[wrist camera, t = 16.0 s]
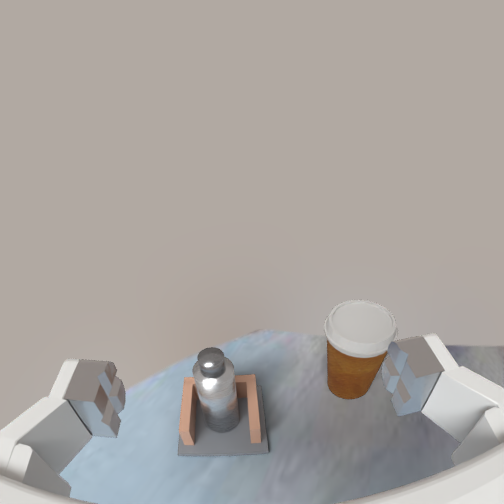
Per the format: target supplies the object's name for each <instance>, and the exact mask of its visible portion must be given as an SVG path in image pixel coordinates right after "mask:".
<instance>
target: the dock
mask: <svg viewBox="0 0 504 504" xmlns="http://www.w3.org/2000/svg"><path fill="white" fill-rule="evenodd" d="M235 384H236V392H237V400H238V408H239V416H240V421H239V424H238V426H237V427H236V428H235V429H233V430H232V431H229V432H225V433H218V432H215V431H212V430H211V429H210V428H209V427H208V426H207V425H206V422H205V418H204V415H203V411H202V407H201V403H200V400H199V396H198V392H197V388H196V384H195V380H194V377H184V386H183V395H182V405H181V414H180V425H179V444H178V456H234V455H252V454H265V453H269V451H268V442H267V434H266V425H265V416H264V407H263V398H262V389H261V386H256V380H255V374H252V375H237V376H235Z"/></svg>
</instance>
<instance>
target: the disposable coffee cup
mask: <svg viewBox="0 0 504 504" xmlns="http://www.w3.org/2000/svg"><path fill="white" fill-rule="evenodd" d="M324 331H325V335H326V337H327V353H328V354H327V356H328V357H327V359H328V360H327V362H328V364H327V365H328V381H327V382H328V387H329V389H330V390H331V392H332V393H333V394H335V395H336V396H338V397H340V398H344V399H355V398H359V397H361V396H363V395H364V394H365V393H366V392H367V391H368V389H369V387H370V385H371V383H372V381H373V380H374V378H375V376H376V374H377V372H378V370H379V368H380V366H381V364H382V362H383V360H384V358H385V356H386V354H387V350H388V346H389V344H390V343H391V342H392V341H396V339H397V335H398V331H397V327H396V320H395V318H394V316H393V314H392V313H391V312H390V311H389V310H388V309H386V308H385V307H383V306H382V305H380V304H377V303H375V302H371V301H366V300H352V301H346V302H343V303H340V304H338V305H337V306H336V307H334V308H333V309H332V311H331V312H330V314H329V315H328V316H327V318H326V320H325V323H324Z"/></svg>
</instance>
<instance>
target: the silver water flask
mask: <svg viewBox="0 0 504 504" xmlns="http://www.w3.org/2000/svg"><path fill="white" fill-rule="evenodd" d="M193 376H194V380H195V384H196V388H197V392H198V396H199V400H200V403H201V407H202V411H203V415H204V418H205V422H206V425H207V426H208V427H209V428H210V429H211V430H212V431H215V432H218V433H225V432H229V431H232V430H233V429H235V428H236V427H237V426H238V424H239V421H240V416H239V408H238V400H237V392H236V384H235V375H234V367H233V364H232V362H231V361H230V360H229V359H228V358H226V357H224V353H223V352H222V351H221V350H220V349H218V348H206V349H204V350H202V351H201V352H200V353H199V354H198V361H197V362H196V363H195V365H194V366H193Z"/></svg>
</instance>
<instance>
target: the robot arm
mask: <svg viewBox="0 0 504 504" xmlns="http://www.w3.org/2000/svg"><path fill="white" fill-rule="evenodd" d="M387 352H388V354H389V357H388V358H387V359H386V360H385V361H384V363H383V366H382V380H383V384H384V386H385V388H386V390H387V391H389V392H390V393H392V394H393V395H392V398H391V402H392V404H393V407H394V409H395V411H396V413H397V416H403V415H407V414H411V413H415V412H419V411H422V413H423V414H424V415H426V416H427V417H428V418H429V419H431V420H432V421H433V422H434V423H436V424H437V425H438V426H440V427H441V428H442V429H443V430H445V431H446V432H447V433H448V434H450V435H451V436H452V437H453V438H455V439H456V440H457V441H459V442H460V443H461V444H460V445H459V446H458V447H457V449H456V450H455V451H454V452H453V454H452V456H451V458H452V461H453V463H454V465H455V466H454V467H452V468H449V469H447V470H445V471H442V472H440V473H437V474H435V475H432V476H429V477H427V478H424V479H421V480H418V481H416V482H413V483H410V484H407V485H404V486H401V487H397V488H394V489H391V490H387V491H384V492H381V493H377V494H373V495H369V496H366V497H362V498H357V499H353V500H349V501H344V502H339V503H334V504H504V388H503V387H501V386H499V385H497V384H495V383H493V382H492V381H490V380H488V379H486V378H484V377H482V376H480V375H478V374H477V373H475V372H473V371H471V370H469V369H467V368H465V367H464V366H461V367H459V366H458V365H457V363H456V362H455V360H454V359H453V357H452V356H451V354H450V353H449V351H448V350H447V349H446V347H445V346H444V344H443V343H442V341H441V340H440V338H439V337H438V336H437V335H436V334H435V333H431V334H426V335H421V336H416V337H411V338H406V339H402V340H397V341H392V342H391V343H390V344H389V346H388V350H387ZM116 372H117V369H116V367H115V365H114V363H113V362H109V361H95V360H83V359H82V360H80V359H67V360H66V361H65V362H64V364H63V366H62V368H61V370H60V372H59V374H58V376H57V379H56V381H55V383H54V385H53V388H52V390H51V392H50V394H49V397H43V398H42V399H41V400H40V401H38V402H37V403H36V404H34V405H33V406H32V407H30V408H29V409H28V410H27V411H25V412H24V413H23V414H21V415H20V416H19V417H17V418H16V419H15V420H14V421H12V422H11V423H10V424H8V425H7V426H6V427H4V428H3V429H2V430H1V431H0V504H96V503H92V502H87V501H83V500H78V499H74V498H70V497H69V496H70V491H71V486H70V485H69V483H68V482H67V481H65V480H64V479H63V478H62V477H61V476H60V475H59V474H60V473H61V472H62V471H63V469H64V468H65V467H66V466H67V465H68V464H69V463H70V462H71V461H72V459H73V458H74V457H75V456H76V455H77V454H78V453H79V452H80V451H81V449H82V448H83V447H84V446H85V445H86V444H87V443H88V442H89V441H90V439H91V438H92V436H100V437H110V438H117V436H118V431H119V427H120V423H121V420H120V418H119V416H118V414H119V413H120V412H121V411H122V410H123V409H124V405H125V388H124V385H123V382H122V381H121V379H119V378H118V377H116V376H115V375H116Z"/></svg>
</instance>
